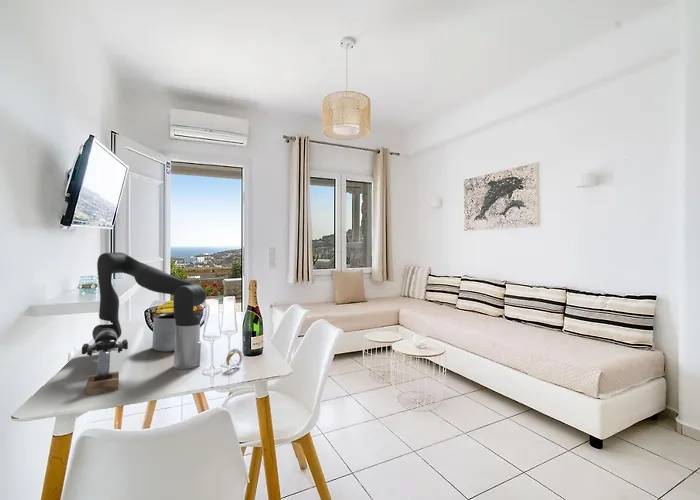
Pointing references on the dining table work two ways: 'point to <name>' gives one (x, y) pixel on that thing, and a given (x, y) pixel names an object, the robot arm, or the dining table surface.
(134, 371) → the dining table surface
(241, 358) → the ring
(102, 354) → the rod
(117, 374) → the wooden square socket block
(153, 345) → the planter
